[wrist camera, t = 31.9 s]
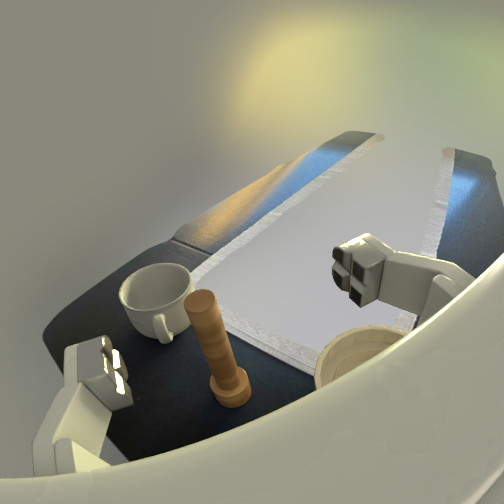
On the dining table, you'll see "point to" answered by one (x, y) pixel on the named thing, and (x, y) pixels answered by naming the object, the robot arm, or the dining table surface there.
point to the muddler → (217, 349)
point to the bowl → (352, 351)
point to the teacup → (157, 300)
